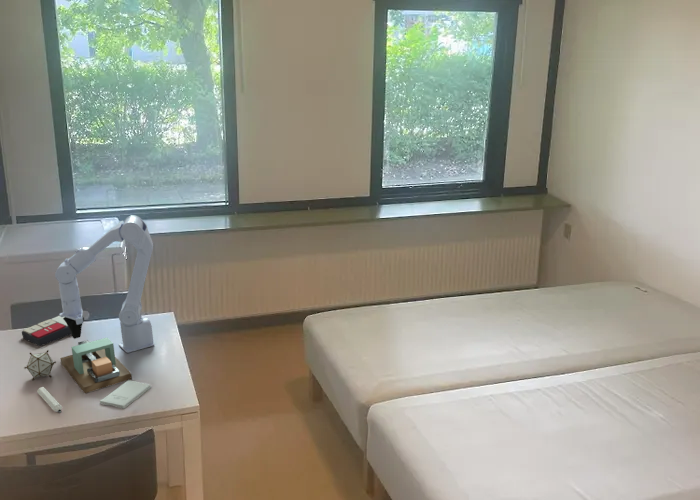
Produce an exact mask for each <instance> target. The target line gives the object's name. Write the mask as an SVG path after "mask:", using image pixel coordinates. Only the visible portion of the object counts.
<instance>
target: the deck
mask: <svg viewBox="0 0 700 500" xmlns="http://www.w3.org/2000/svg"><path fill="white" fill-rule="evenodd" d="M92 354H93V356H94V357H95V358H96V359H100V358H103V357H106V355H105V349H103V350H99V351H95V352H92ZM115 361H116V364H114V366H115V367H116V368H117V369H118V370H119V371H120V376H117V377H113V378H110V379H107V380H104V381H100V382H97V383H95V382H94V381H93V379H92V378H91V377H90V376H89V375H88V373H87V369H89V368H92V364H91V363H90V362H89V361H88V360H87V359H86V357H85V356H82V363H83V370H84V373H83V374H79V373H78V371H77V370H76V369H75V368H74V361H73V355H72V354H70V355H66V356H63V357H60V364H61V365H62V367H63V368H64V369H65V370H66V372H67V373H68V374H69V376H70V377H71V378H72V379H73V381H74V382H75V383H76V385H77V386H78V387H79V388H80V390H81V391H82V392H83V393H84V394H88V393H91V392H94V391H97V390H100V389H104V388H107V387H110V386H113V385H117V384H120V383H125V382H126V381H128V380H129V381H131V380H132V379H133V377H132V372H131V371H130V370H129V369H128V368H127V367H126V366H125V365H124V364H123V363H122V361H120V360H119V359H118V358H117V357H116V356H115Z"/></svg>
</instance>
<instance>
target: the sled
mask: <svg viewBox="0 0 700 500" xmlns="http://www.w3.org/2000/svg"><path fill="white" fill-rule="evenodd" d="M88 342H90V341H89V340H88V339H86V340H82V341H79V342H77V345H81V344H85V343H88ZM81 356H85V357H86V359H87V360H88V361H89V362H90V363H91V364H92V361H93V360H96V358H95V357H94V356H93V354H92V353H88V354H85V355H81ZM112 369H113V372H110V373H107V374H103V375H100V376H96V375H95V374H94V373H93V369H92V368H89V369H87V373H88V375H89V376H90V377H91V378H92V379H93V381H94V382H95V383H97V382H100V381H104V380H107V379H110V378H113V377H117V376H120V371H119V370H118V369H117V368H116V367H115V366H114V364H113V363H112Z"/></svg>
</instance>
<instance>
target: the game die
mask: <svg viewBox="0 0 700 500" xmlns="http://www.w3.org/2000/svg"><path fill="white" fill-rule="evenodd" d="M29 355H30V356H29V357H30V358H29V360H28V362H27V365H26V366H24V367H23V369H24V370H26V369H27V371H28V372H29V373H30V375H31V376H32V378H31V380H32V381H34V380H35V379H36V378H43V377H49V378H52V375H51V372H52V369H53V368H54V367H53V366H54V365H55V364H56V363H57V361H54V360H53V359H52V357H51V356H50V354H49V349H47V350H46V351H45V352H40V353H32V352H29Z"/></svg>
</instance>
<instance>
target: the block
mask: <svg viewBox="0 0 700 500" xmlns="http://www.w3.org/2000/svg"><path fill="white" fill-rule="evenodd" d="M92 369H93V373H94V374H95V375H96V376H100V375H103V374H107V373H110V372H113V369H112V362H111V361H110V360H109V359H108V358H107V357H103V358H100V359H96V360H93V361H92Z"/></svg>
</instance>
